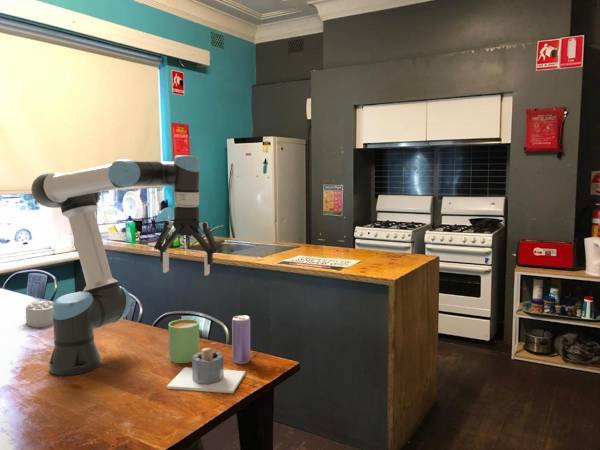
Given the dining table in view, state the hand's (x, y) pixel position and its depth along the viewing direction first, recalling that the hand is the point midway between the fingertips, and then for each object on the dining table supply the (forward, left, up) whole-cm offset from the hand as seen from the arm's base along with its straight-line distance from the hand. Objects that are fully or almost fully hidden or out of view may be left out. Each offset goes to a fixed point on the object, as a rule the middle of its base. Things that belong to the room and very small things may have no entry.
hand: (186, 273), depth 151 cm
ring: (+9, -7, -31) cm, 33 cm away
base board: (+9, -7, -32) cm, 34 cm away
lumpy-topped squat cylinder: (-79, +38, -32) cm, 93 cm away
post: (+9, -7, -32) cm, 34 cm away
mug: (-6, +11, -32) cm, 34 cm away
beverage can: (+15, +10, -32) cm, 36 cm away
